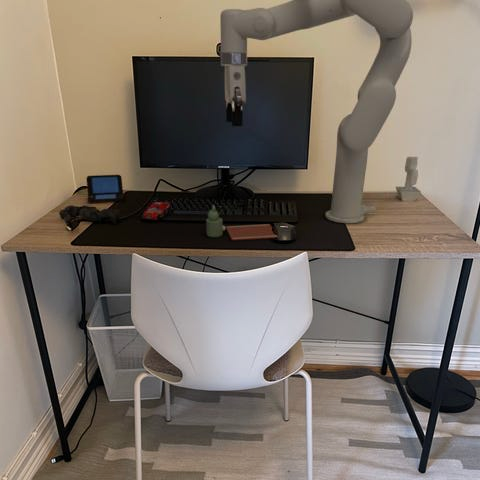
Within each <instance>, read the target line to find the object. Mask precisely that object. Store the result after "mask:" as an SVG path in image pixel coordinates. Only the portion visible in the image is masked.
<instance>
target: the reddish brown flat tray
mask: <svg viewBox="0 0 480 480" xmlns="http://www.w3.org/2000/svg"><path fill="white" fill-rule="evenodd" d="M224 226H225V225H224ZM225 227H226V229H225V230H226V231H227V234H228V235H229V237H230V239H231V241H245V240H246V241H247V240H265V239H280V236H279V235H278V234H277V235H278V236H277V235H275V234H274V233H273V231H272V228H273V227H272V225H271V223H266V224H265V223H263V224H244V225H242V224H241V225H226V226H225Z"/></svg>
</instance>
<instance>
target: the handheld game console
mask: <svg viewBox="0 0 480 480" xmlns="http://www.w3.org/2000/svg"><path fill="white" fill-rule="evenodd" d="M122 179H123V177H122V175H120V174H103V175H102V174H99V175H97V174H95V175H87V176H86V188H87V203H89V204H96V203H98V204H99V203H117V202H123V201H125V200H124V199H125V198H124V197H125V196H124V189H123V180H122Z"/></svg>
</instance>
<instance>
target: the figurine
mask: <svg viewBox="0 0 480 480" xmlns="http://www.w3.org/2000/svg"><path fill="white" fill-rule="evenodd" d="M418 159H419V157H417V156H406V159H405V165H404V172H405V173H406V177H405V183H404V186H395V190H396V193H397V195H398V196H397V197H398V198H399V199H400V200H401V201H402V202H414V201H416V199H417V198H418V197H419V196H420V194H421V193H422V191H421V190H420V189H419V188H417V187H416V186H415V185H417V183H418V182H417V181H418V177H419V170H418V169H417V167H418Z"/></svg>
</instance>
